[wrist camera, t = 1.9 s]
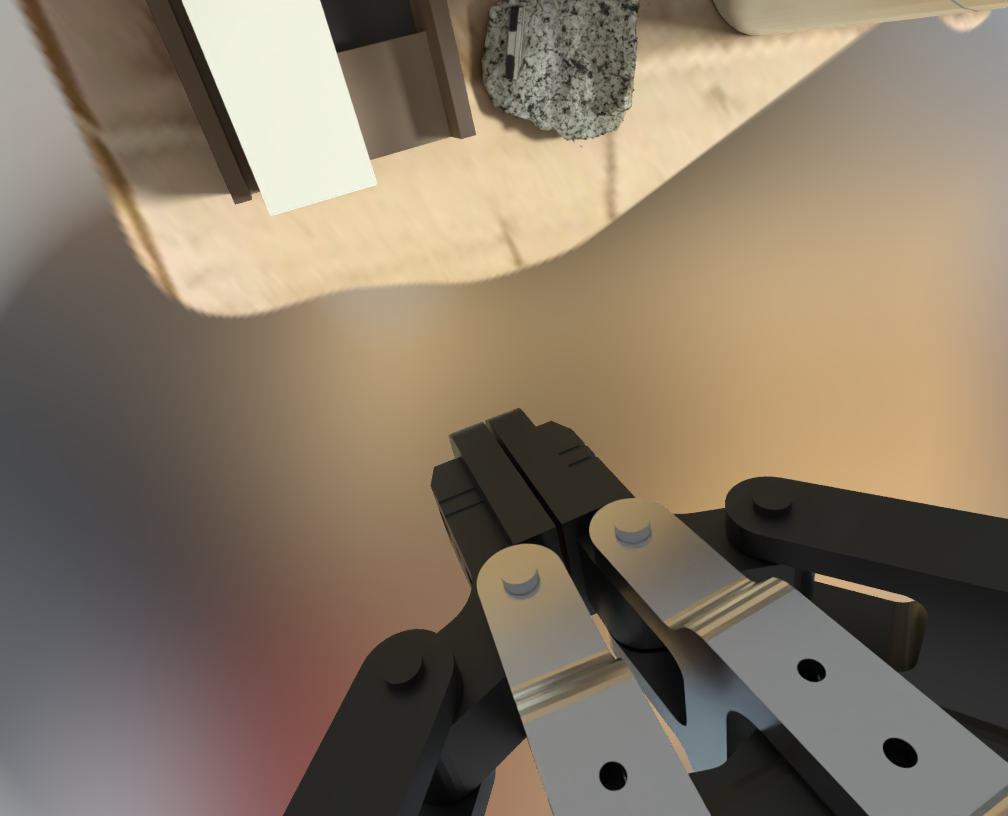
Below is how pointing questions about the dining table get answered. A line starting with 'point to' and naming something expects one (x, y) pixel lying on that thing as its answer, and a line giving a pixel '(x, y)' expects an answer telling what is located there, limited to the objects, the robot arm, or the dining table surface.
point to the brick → (284, 97)
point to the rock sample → (562, 63)
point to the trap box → (346, 78)
